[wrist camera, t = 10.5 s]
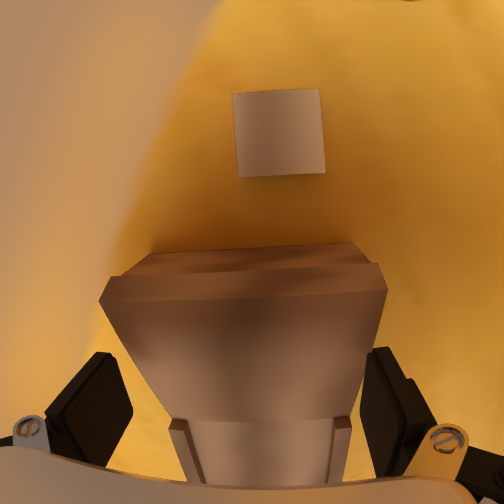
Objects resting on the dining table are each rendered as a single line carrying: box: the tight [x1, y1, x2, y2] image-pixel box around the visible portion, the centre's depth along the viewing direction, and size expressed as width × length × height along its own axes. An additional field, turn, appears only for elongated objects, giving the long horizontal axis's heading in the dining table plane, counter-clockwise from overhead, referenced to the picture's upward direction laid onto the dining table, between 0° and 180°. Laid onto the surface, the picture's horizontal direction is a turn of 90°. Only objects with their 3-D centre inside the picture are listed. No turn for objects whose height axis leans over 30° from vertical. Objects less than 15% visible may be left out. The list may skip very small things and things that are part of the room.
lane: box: [99, 242, 388, 486], centre depth 18 cm, size 11×33×6 cm, turn 4°
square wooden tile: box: [232, 89, 326, 178], centre depth 15 cm, size 4×4×2 cm
